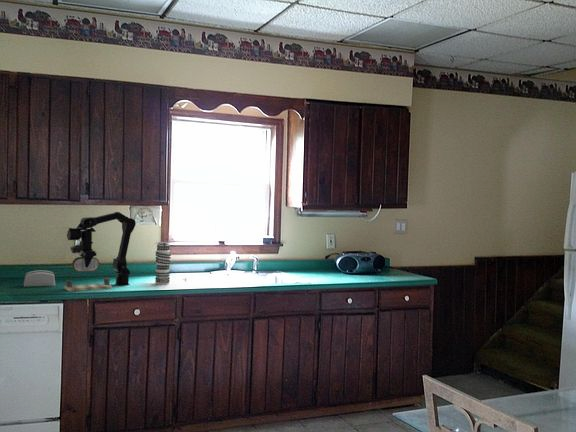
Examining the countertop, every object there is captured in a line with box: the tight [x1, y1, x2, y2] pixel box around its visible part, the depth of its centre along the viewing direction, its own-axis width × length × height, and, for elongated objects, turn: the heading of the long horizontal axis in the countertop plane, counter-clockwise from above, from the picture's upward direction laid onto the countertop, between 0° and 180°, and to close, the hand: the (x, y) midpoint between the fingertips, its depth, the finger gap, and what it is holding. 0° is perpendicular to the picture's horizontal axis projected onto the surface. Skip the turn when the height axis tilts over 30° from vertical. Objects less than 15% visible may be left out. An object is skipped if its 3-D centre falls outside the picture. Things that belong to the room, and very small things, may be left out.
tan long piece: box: [63, 277, 113, 292], centre depth 351 cm, size 24×9×5 cm, turn 125°
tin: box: [71, 256, 100, 273], centre depth 354 cm, size 15×3×8 cm, turn 123°
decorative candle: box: [154, 241, 172, 286], centre depth 377 cm, size 9×9×25 cm
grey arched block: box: [23, 269, 56, 287], centre depth 355 cm, size 17×5×10 cm, turn 113°
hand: (86, 267), depth 354 cm, fingers open, 2 cm apart
